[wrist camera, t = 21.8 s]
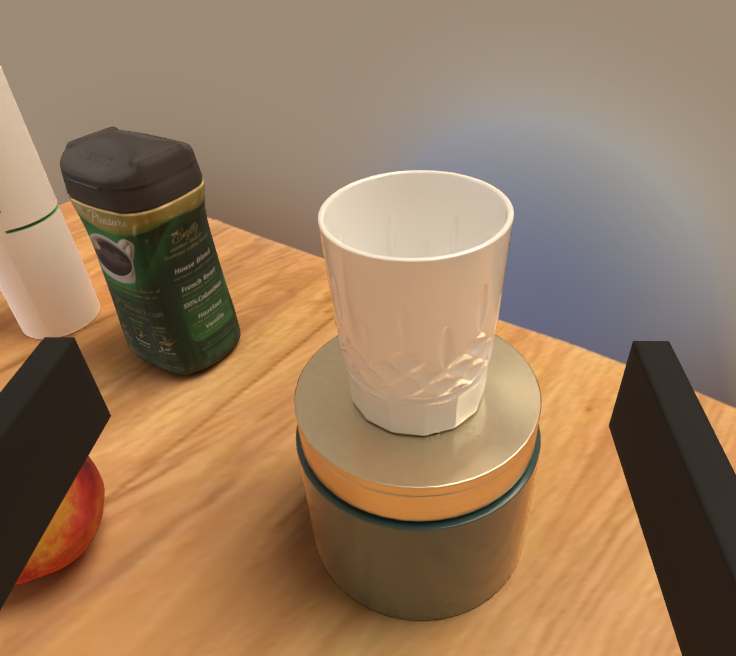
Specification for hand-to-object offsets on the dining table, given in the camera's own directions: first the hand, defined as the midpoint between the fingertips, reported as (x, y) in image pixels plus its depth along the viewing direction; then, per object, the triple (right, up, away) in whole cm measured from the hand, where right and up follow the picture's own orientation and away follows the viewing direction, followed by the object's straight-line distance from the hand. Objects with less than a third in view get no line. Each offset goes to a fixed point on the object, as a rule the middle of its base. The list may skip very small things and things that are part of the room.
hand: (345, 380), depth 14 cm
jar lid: (+3, -2, +16) cm, 17 cm away
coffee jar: (-15, 0, +38) cm, 41 cm away
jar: (+4, -11, +23) cm, 25 cm away
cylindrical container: (-29, +2, +43) cm, 51 cm away
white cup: (+3, -2, +16) cm, 16 cm away
